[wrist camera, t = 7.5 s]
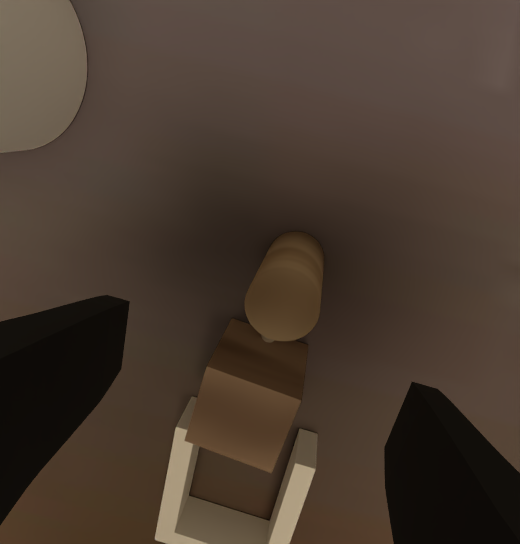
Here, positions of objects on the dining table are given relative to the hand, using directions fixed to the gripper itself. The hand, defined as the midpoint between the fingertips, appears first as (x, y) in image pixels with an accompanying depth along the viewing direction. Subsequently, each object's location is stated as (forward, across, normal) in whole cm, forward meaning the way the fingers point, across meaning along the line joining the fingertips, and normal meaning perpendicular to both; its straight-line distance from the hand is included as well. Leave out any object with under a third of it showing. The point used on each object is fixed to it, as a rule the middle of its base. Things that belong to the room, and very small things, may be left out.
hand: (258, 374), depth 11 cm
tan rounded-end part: (+10, 0, +3) cm, 10 cm away
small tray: (+10, 0, +13) cm, 16 cm away
